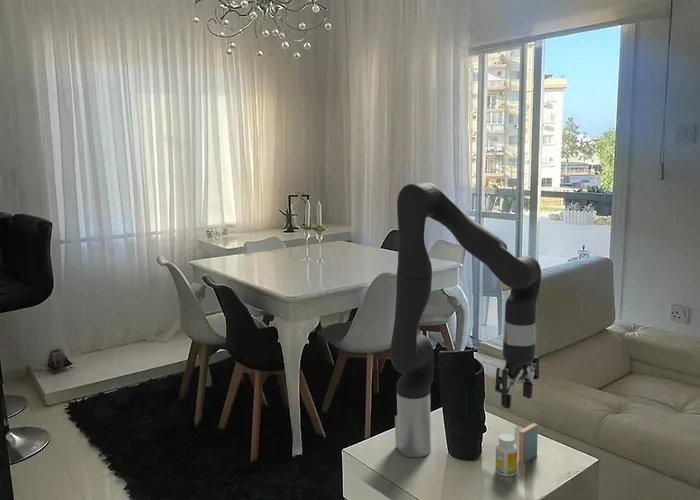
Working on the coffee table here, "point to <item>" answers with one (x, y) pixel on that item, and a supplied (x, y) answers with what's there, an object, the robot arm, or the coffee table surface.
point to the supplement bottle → (506, 455)
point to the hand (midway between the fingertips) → (516, 402)
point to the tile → (528, 443)
